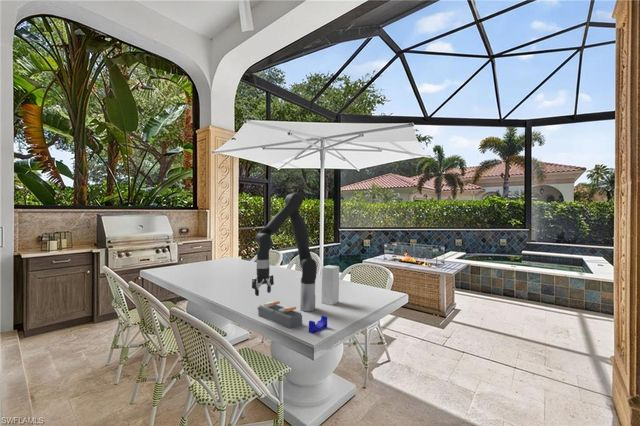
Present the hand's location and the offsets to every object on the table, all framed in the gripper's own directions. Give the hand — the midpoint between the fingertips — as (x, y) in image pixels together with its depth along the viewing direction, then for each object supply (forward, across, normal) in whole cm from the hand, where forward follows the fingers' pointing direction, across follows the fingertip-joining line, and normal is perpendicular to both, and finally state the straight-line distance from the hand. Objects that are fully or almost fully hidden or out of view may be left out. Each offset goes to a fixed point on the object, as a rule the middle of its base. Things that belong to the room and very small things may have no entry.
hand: (263, 294), depth 180 cm
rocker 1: (+7, -4, +4) cm, 8 cm away
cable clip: (+14, -9, +35) cm, 39 cm away
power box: (+14, -4, +8) cm, 16 cm away
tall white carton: (+15, -50, +10) cm, 53 cm away
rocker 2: (+7, -4, +18) cm, 19 cm away
